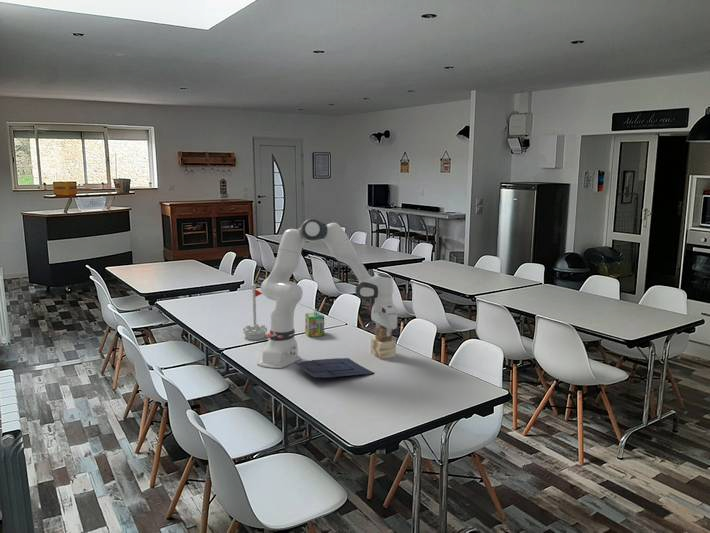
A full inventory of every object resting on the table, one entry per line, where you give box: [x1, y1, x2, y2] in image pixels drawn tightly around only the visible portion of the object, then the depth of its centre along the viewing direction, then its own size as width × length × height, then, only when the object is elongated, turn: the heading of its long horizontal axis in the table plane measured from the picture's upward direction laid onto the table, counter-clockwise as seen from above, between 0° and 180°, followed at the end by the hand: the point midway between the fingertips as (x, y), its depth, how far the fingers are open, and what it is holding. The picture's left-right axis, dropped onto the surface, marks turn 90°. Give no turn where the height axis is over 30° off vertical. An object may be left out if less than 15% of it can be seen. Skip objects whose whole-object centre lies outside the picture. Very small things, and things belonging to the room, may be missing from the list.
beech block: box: [370, 337, 397, 360], centre depth 264 cm, size 9×9×8 cm
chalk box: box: [304, 308, 325, 338], centre depth 297 cm, size 9×9×15 cm
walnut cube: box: [374, 325, 393, 342], centre depth 262 cm, size 6×6×6 cm
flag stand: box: [242, 283, 268, 340], centre depth 292 cm, size 13×13×30 cm
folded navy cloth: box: [294, 357, 375, 379], centre depth 241 cm, size 24×30×4 cm
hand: (383, 333), depth 262 cm, fingers open, 7 cm apart
